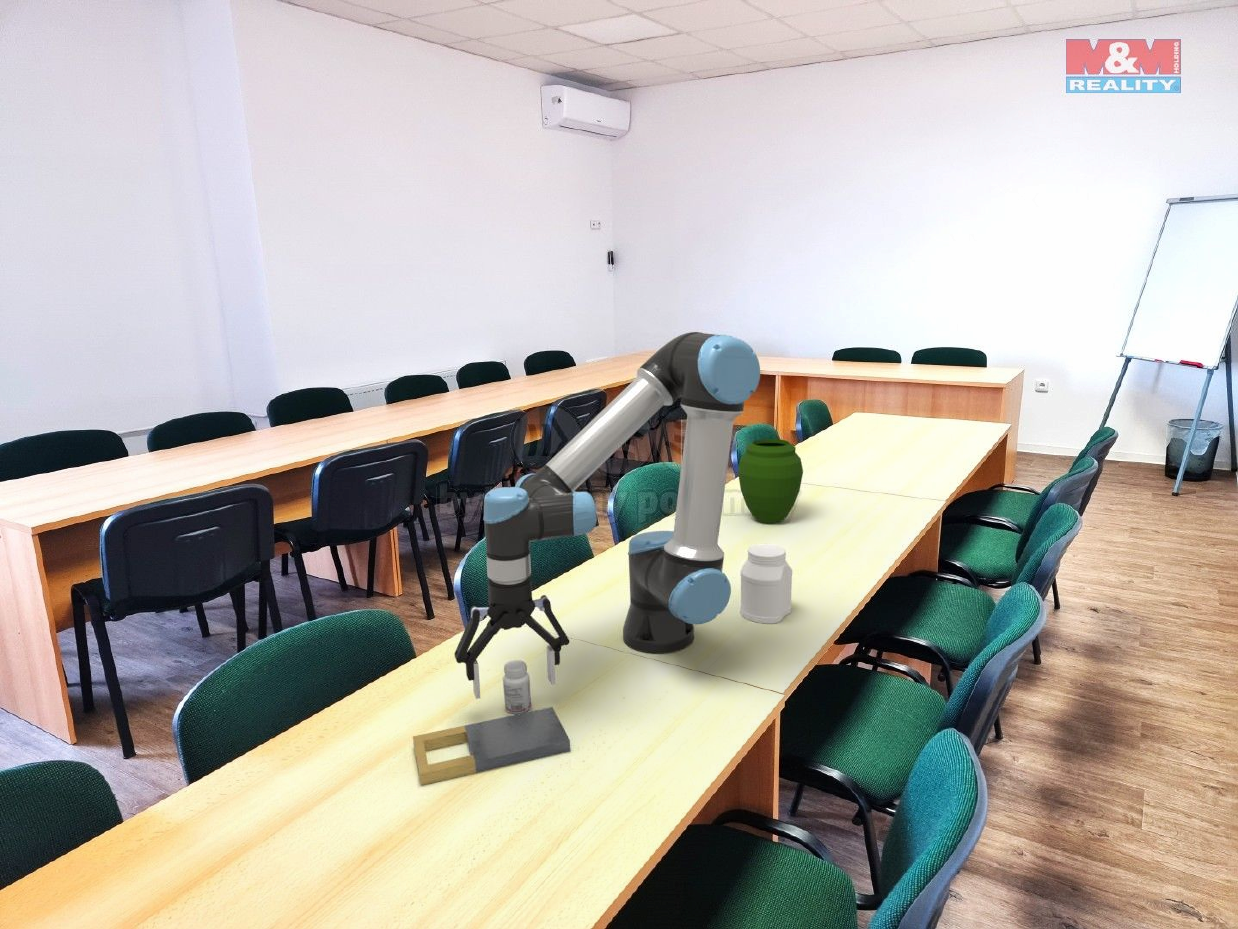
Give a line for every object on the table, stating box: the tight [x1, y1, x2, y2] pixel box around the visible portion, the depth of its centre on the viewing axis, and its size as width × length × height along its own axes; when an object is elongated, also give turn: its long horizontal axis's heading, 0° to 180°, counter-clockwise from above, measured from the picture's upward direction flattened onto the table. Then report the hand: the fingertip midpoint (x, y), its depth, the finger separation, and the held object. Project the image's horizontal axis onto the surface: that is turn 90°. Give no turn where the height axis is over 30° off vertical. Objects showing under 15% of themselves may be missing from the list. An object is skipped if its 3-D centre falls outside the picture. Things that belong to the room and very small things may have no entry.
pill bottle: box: [502, 659, 532, 715], centre depth 143 cm, size 5×5×8 cm
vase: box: [737, 438, 804, 524], centre depth 242 cm, size 20×20×24 cm
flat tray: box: [412, 706, 571, 786], centre depth 132 cm, size 24×11×2 cm, turn 110°
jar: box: [739, 543, 793, 625], centre depth 178 cm, size 12×10×15 cm
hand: (514, 688), depth 143 cm, fingers open, 13 cm apart
